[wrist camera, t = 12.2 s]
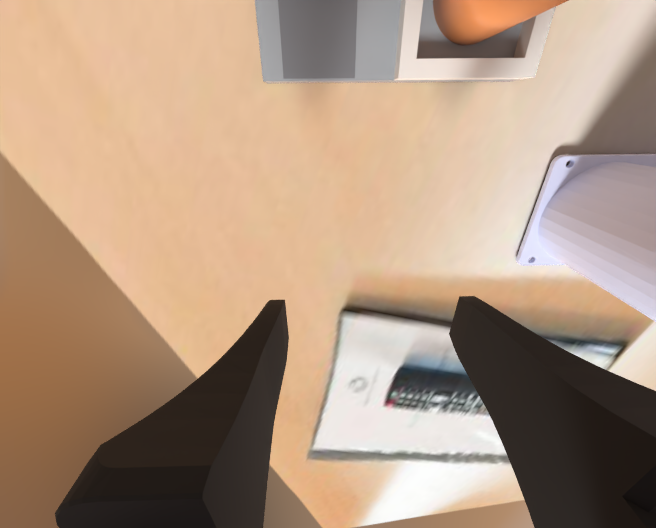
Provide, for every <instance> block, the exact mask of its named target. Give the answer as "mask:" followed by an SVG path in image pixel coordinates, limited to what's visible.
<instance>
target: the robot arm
mask: <svg viewBox="0 0 656 528" xmlns="http://www.w3.org/2000/svg"><path fill="white" fill-rule="evenodd" d="M569 160H570V163H569V164H568V165H567V166H566V163H567V162H568V161H569ZM531 257H532V258H531ZM530 258H531V259H530ZM529 259H530V260H529ZM516 262H517V263H519V264H520V265H523V266H524V265H566V266H568V267H569V268H571V269H572V270H574V271H576V272H577V273H579V274H580V275H582V276H584V277H585V278H587V279H588V280H590V281H592V282H593V283H595V284H596V285H598V286H600V287H601V288H603V289H604V290H606V291H608V292H609V293H611V294H612V295H614V296H615V297H617V298H619V299H620V300H622V301H623V302H625V303H627V304H628V305H630V306H631V307H633V308H635V309H636V310H638V311H639V312H641V313H643V314H644V315H646V316H647V317H649V318H651V319H652V320H654V321H655V322H656V154H593V155H558V156H557V157H555V158H554V159H553V160H552V162H551V164H550V167H549V170H548V172H547V175H546V178H545V181H544V183H543V186H542V189H541V192H540V194H539V197H538V200H537V203H536V205H535V208H534V211H533V214H532V216H531V219H530V222H529V225H528V227H527V230H526V233H525V236H524V238H523V241H522V244H521V247H520V249H519V252H518V255H517V258H516ZM449 335H450V338H451V340H452V343H453V346H454V348H455V351H456V353H457V356H458V358H459V360H460V361H461V363H462V365H463V367H464V369H465V371H466V372H467V374H468V376H469V378H470V380H471V381H472V383H473V385H474V387H475V389H476V390H477V392H478V394H479V396H480V398H481V399H482V401H483V403H484V405H485V406H486V408H487V410H488V412H489V414H490V416H491V418H492V420H493V423H494V425H495V427H496V429H497V432H498V434H499V436H500V439H501V441H502V443H503V445H504V448H505V450H506V453H507V455H508V458H509V460H510V463H511V465H512V468H513V470H514V472H515V475H516V478H517V480H518V483H519V486H520V488H521V491H522V494H523V496H524V499H525V502H526V504H527V507H528V510H529V512H530V516H531V519H532V521H533V524H534V527H535V528H656V391H654V390H652V389H649V388H647V387H644V386H642V385H639V384H637V383H634V382H632V381H630V380H627V379H625V378H623V377H621V376H618V375H616V374H614V373H611V372H609V371H607V370H605V369H602V368H600V367H598V366H596V365H594V364H592V363H590V362H588V361H586V360H584V359H582V358H580V357H578V356H576V355H574V354H572V353H570V352H568V351H566V350H564V349H562V348H560V347H558V346H556V345H555V344H553V343H551V342H549V341H548V340H546V339H544V338H542V337H540V336H539V335H537V334H535V333H534V332H532V331H530V330H529V329H527V328H525V327H524V326H522V325H520V324H519V323H517V322H516V321H514V320H512V319H511V318H509V317H508V316H506V315H504V314H503V313H501V312H500V311H498V310H497V309H495V308H493V307H492V306H490V305H488V304H487V303H485V302H484V301H482V300H480V299H478V298H476V297H475V296H463V297H459V300H458V304H457V307H456V311H455V315H454V318H453V322H452V326H451V329H450V333H449ZM288 339H289V336H288V326H287V316H286V306H285V300H270V301H269V302H267V304H266V305H265V307H264V308H263V309H262V311H261V312H260V314H259V315H258V316H257V317H256V319H255V320H254V321H253V323H252V324H251V325H250V326H249V327H248V329H247V330H246V331H245V332H244V334H243V335H242V336H241V337H240V338H239V339H238V340H237V341H236V343H235V344H234V345H233V346H232V347H231V348H230V349H229V350H228V351H227V352H226V353H225V354H224V355H223V356H222V357H221V358H220V359H219V360H218V361H217V362H216V363H215V364H214V365H213V366H212V367H211V368H210V369H209V370H208V371H206V372H205V373H204V374H203V375H202V376H201V377H199V378H198V379H197V380H196V381H195V382H193V383H192V384H191V385H190V386H188V387H187V388H186V389H185V390H183V391H182V392H181V393H180V394H178V395H177V396H176V397H174V398H173V399H171V400H170V401H169V402H167V403H166V404H165V405H163V406H162V407H160V408H159V409H157V410H156V411H154V412H153V413H151V414H150V415H148V416H147V417H145V418H144V419H143V420H141V421H139V422H138V423H136V424H134V425H133V426H131V427H130V428H128V429H126V430H125V431H123V432H121V433H120V434H118V435H117V436H115V437H114V438H112V439H110V440H109V441H107V442H105V443H103V444H102V445H100V447H99V448H98V449H97V451H96V452H95V454H94V455H93V456H92V458H91V459H90V460H89V462H88V463H87V465H86V466H85V468H84V469H83V471H82V472H81V474H80V476H79V477H78V479H77V480H76V482H75V483H74V485H73V486H72V488H71V489H70V491H69V492H68V494H67V495H66V497H65V499H64V500H63V502H62V503H61V505H60V506H59V508H58V509H57V511H56V513H55V516H56V522H57V525H58V527H59V528H263V522H264V510H265V500H266V490H267V480H268V470H269V461H270V452H271V443H272V434H273V426H274V420H275V414H276V409H277V404H278V399H279V394H280V390H281V385H282V380H283V375H284V371H285V366H286V361H287V351H288Z"/></svg>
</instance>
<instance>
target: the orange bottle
mask: <svg viewBox="0 0 656 528" xmlns="http://www.w3.org/2000/svg"><path fill="white" fill-rule="evenodd" d="M566 1H568V0H433V10H434V16H435V20H436V23H437V25H438V27H439V29H440V31H441V32H442V34H443V35H444V36H445V37H446V38H447V39H448V40H450V41H451V42H453V43H455V44H459V45H473V44H476V43H479V42H481V41H483V40H486V39H488V38H490V37H492V36H494V35H496V34H498V33H500V32H502V31H505V30H507V29H509V28H511V27H513V26H515V25H517V24H519V23H522V22H524V21H526V20H528V19H530V18H532V17H534V16H536V15H539V14H541V13H543V12H545V11H547V10H549V9H551V8H553V7H556V6H558V5H560V4H562V3H564V2H566Z"/></svg>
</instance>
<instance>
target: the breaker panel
mask: <svg viewBox="0 0 656 528" xmlns="http://www.w3.org/2000/svg"><path fill="white" fill-rule="evenodd" d="M255 6H256V16H257V26H258V36H259V45H260V55H261V65H262V75H263V81H264V82H266V83H365V82H505V81H515V80H522V79H528V78H534V77H535V76H536V73H537V69H538V66H539V62H540V59H541V56H542V52H543V49H544V46H545V42H546V39H547V35H548V32H549V29H550V25H551V22H552V19H553V15H554V12H555V8H556V7H553V8H551V9H549V10H547V11H545V12H543V13H541V14H539V15H536V16H534V17H532V18H530V19H528V20H526V21H524V22H522V23H519V24H517V25H515V26H513V27H511V28H509V29H507V30H505V31H502V32H500V33H498V34H496V35H494V36H492V37H490V38H488V39H486V40H483V41H481V42H479V43H476V44H473V45H459V44H455V43H453V42H451V41H450V40H448V39H447V38H446V37H445V36H444V35H443V34H442V32H441V31H440V29H439V27H438V25H437V23H436V20H435V16H434V10H433V0H255Z"/></svg>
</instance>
